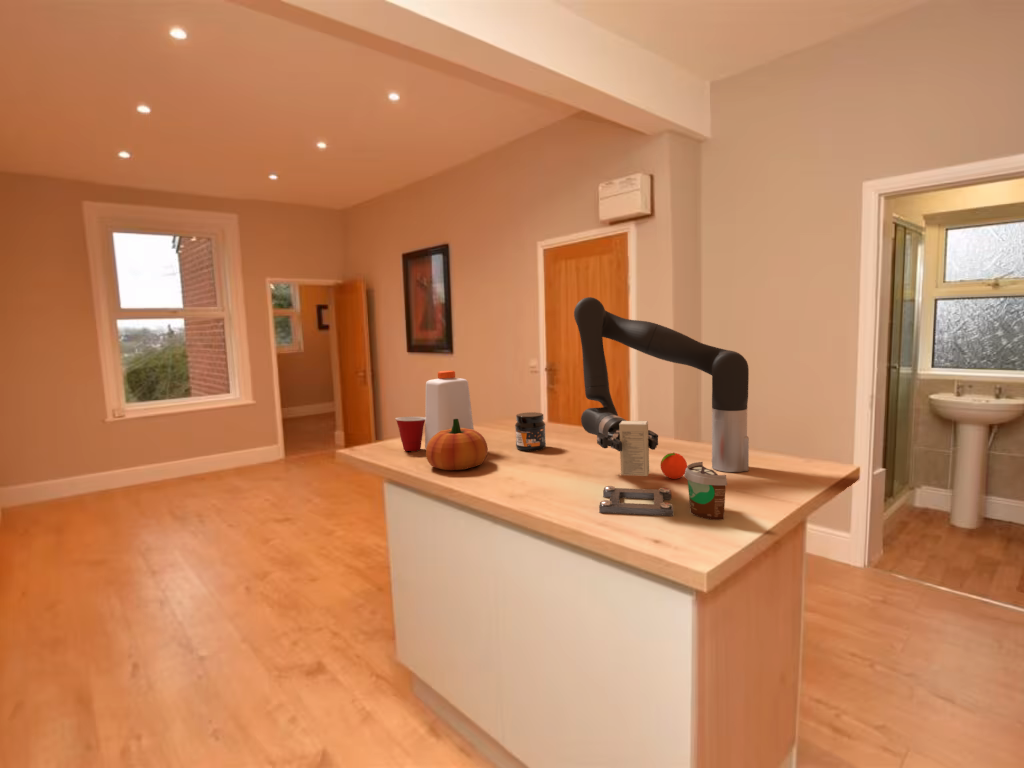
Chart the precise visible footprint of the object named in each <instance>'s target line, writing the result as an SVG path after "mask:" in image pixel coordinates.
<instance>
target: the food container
mask: <svg viewBox="0 0 1024 768" xmlns="http://www.w3.org/2000/svg"><path fill="white" fill-rule="evenodd" d="M703 462H704V461H696V462H692V463H689V464H687V468H686V470H685V474H684V475H683V476H684V478H685V479H686V480H687V489H688V502H689V510H690V511H689V512H690V513H691V514H692V515H693V516H695V517H697V518H701V519H706V520H713V521H714V520H715V521H722V520H725V507H726V506H725V503H726V488H727V487H726V486H728V478H727V475H726V474H718V473H717V472H715V471H714V469H709V468H707V467H705V466H704V463H703Z"/></svg>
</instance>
